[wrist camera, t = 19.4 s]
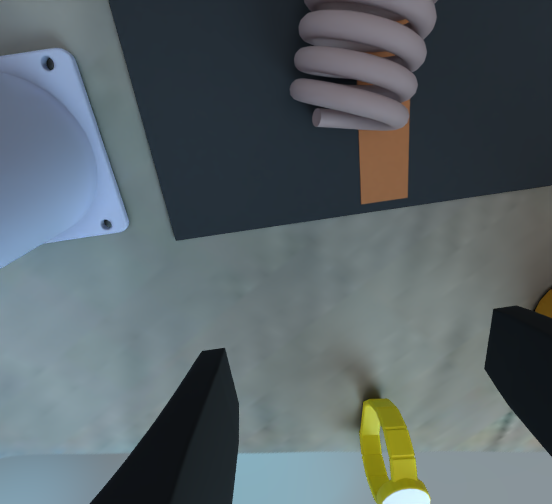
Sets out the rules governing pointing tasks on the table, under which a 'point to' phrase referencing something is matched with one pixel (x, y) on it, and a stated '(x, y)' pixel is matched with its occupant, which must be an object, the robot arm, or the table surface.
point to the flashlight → (545, 305)
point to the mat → (298, 116)
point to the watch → (404, 483)
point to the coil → (362, 60)
